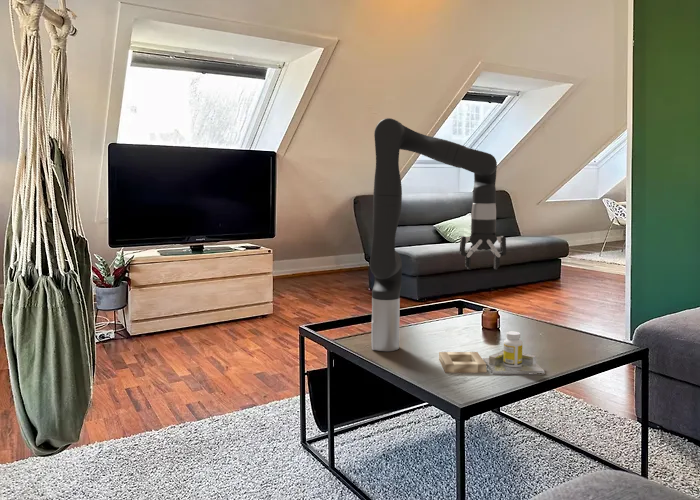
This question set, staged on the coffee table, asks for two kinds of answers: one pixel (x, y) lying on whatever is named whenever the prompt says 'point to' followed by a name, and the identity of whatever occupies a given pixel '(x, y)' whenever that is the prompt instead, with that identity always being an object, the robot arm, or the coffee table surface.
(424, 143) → the robot arm
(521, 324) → the coffee table surface
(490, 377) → the coffee table surface
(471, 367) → the square frame block
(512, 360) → the supplement bottle
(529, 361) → the v block
